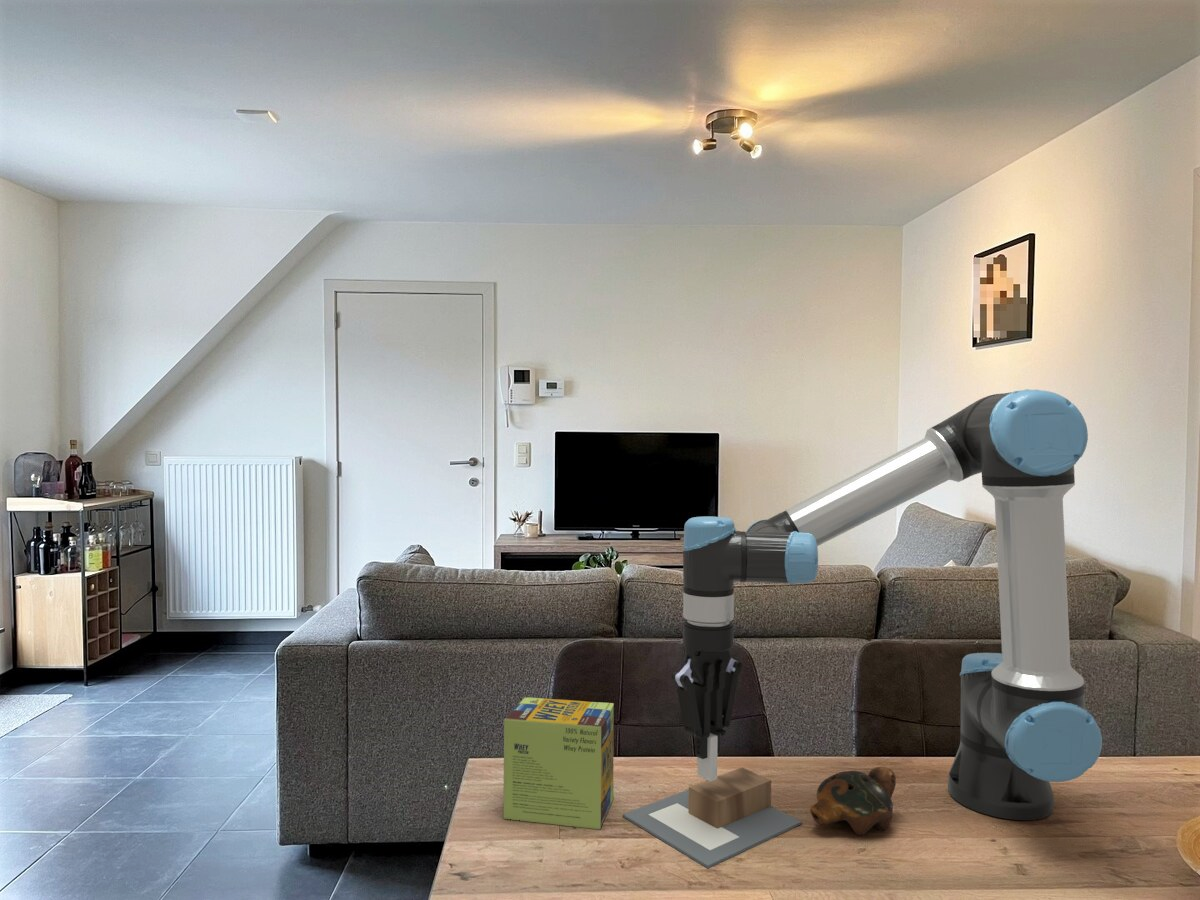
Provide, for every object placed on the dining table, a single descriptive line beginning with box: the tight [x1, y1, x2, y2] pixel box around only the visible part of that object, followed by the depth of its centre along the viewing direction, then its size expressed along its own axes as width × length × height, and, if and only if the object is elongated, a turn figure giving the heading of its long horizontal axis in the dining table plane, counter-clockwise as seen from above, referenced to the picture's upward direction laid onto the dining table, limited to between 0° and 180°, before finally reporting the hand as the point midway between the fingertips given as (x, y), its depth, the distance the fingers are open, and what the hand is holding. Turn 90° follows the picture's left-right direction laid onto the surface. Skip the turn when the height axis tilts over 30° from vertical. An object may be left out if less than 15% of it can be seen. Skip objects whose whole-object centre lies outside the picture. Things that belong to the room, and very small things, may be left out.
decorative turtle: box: [809, 766, 897, 837], centre depth 118 cm, size 10×15×8 cm, turn 119°
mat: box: [622, 788, 803, 869], centre depth 119 cm, size 18×20×1 cm
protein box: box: [502, 697, 615, 830], centre depth 123 cm, size 10×15×16 cm
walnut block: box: [688, 767, 772, 829], centre depth 122 cm, size 6×4×12 cm
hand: (707, 777), depth 118 cm, fingers closed
